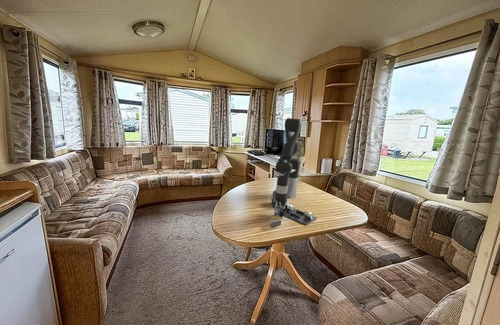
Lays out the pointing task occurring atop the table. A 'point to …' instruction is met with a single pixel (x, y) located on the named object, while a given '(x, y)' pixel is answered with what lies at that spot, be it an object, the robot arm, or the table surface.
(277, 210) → the block with round knob
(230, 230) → the table surface
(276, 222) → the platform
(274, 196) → the small box
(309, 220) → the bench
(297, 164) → the robot arm
